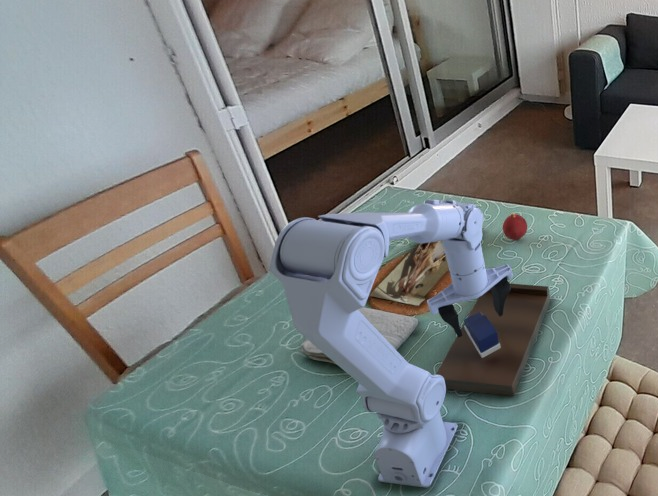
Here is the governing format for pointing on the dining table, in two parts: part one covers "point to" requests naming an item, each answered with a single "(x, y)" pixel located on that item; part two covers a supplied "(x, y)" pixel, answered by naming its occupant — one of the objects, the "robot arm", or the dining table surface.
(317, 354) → the washcloth
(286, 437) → the dining table surface
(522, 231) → the onion
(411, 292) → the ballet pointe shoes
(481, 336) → the trainer
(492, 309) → the shoe shelf
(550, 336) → the dining table surface
